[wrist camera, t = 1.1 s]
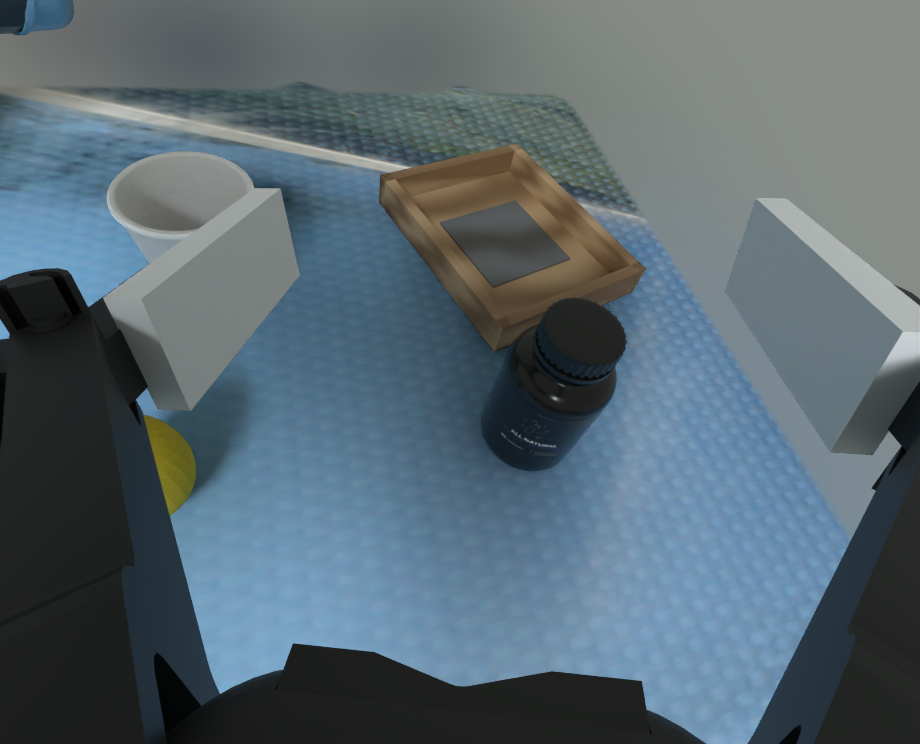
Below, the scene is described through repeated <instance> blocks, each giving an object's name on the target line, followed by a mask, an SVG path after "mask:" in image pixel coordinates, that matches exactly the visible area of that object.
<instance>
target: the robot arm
mask: <svg viewBox="0 0 920 744" xmlns="http://www.w3.org/2000/svg"><path fill="white" fill-rule="evenodd" d="M73 15H74V5H73V0H0V34H4V33H13V34H15V35H26V34H28V33H29V32H30V31H40V30H51V29H59V28H63V27H65V26H67V25H68V24H69V23H70V22H71V20H72V18H73ZM299 276H300V274H299V269H298V265H297V260H296V256H295V252H294V247H293V243H292V238H291V234H290V229H289V225H288V220H287V216H286V211H285V207H284V202H283V198H282V193H281V189H276V188H255V189H253V190H252V191H250V192H249V193H248V194H246V195H245V196H243V197H242V198H241V199H239V200H238V201H237V202H235V203H234V204H232V205H231V206H230V207H228V208H227V209H225V210H224V211H223V212H221V213H220V214H218V215H217V216H216V217H214V218H213V219H211V220H210V221H209V222H207V223H206V224H205V225H203V226H202V227H200V228H199V229H198V230H196V231H195V232H193V233H192V234H191V235H189V236H188V237H186V238H185V239H184V240H182V241H181V242H179V243H178V244H177V245H175V246H174V247H172V248H171V249H170V250H168V251H167V252H166V253H164V254H163V255H161V256H160V257H159V258H157V259H156V260H154V261H153V262H152V263H150V264H149V265H147V266H146V267H144V268H143V269H141V270H140V271H138V272H137V273H136V274H134V275H133V276H131V277H130V278H129V279H127V280H126V281H125V282H123V283H122V284H120V285H119V286H118V287H117V288H115V289H113V290H112V291H111V292H109V293H108V294H106V295H105V296H104V297H102V298H101V299H99V300H98V301H97V302H95V303H94V304H92V305H91V306H90V307H88V306H87V304H86V302H85V300H84V299H83V297H82V295H81V293H80V291H79V289H78V287H77V285H76V283H75V281H74V279H73V277H72V275H71V274H70V273H69V272H68V271H67V270H63V269H58V268H56V269H40V270H33V271H28V272H24V273H20V274H17V275H13V276H11V277H8V278H6V279H3V280H1V281H0V319H1V321H2V322H3V324H4V325H5V327H6V328H7V330H8V332H9V333H10V335H9V339H2V340H0V744H706V743H704V742H703V741H701V740H700V739H698V738H697V737H695V736H694V735H693V734H691V733H690V732H688V731H687V730H685V729H684V728H682V727H681V726H679V725H677V724H675V723H673V722H671V721H670V720H668V719H666V718H664V717H662V716H660V715H658V714H656V713H653V712H651V711H648V710H646V704H645V698H644V692H643V686H642V681H636V680H627V679H617V678H608V677H599V676H590V675H580V674H571V673H562V672H553V671H552V672H546V673H540V674H535V675H529V676H523V677H518V678H512V679H506V680H501V681H495V682H489V683H484V684H478V685H472V686H465V687H461V686H454V685H451V684H449V683H446V682H444V681H442V680H439V679H437V678H434V677H432V676H430V675H427V674H425V673H422V672H420V671H418V670H415V669H413V668H411V667H408V666H406V665H403V664H401V663H399V662H396V661H394V660H392V659H389V658H387V657H384V656H382V655H380V654H377V653H375V652H367V651H358V650H349V649H340V648H330V647H321V646H312V645H303V644H293V645H292V648H291V650H290V653H289V656H288V659H287V661H286V664H285V667H284V670H279V671H274V672H271V673H268V674H265V675H261V676H258V677H255V678H252V679H250V680H248V681H246V682H243V683H241V684H239V685H236V686H234V687H232V688H230V689H229V690H227V691H225V692H223V693H222V694H220V693H219V691H218V689H217V687H216V684H215V682H214V680H213V677H212V674H211V671H210V668H209V665H208V661H207V657H206V654H205V650H204V646H203V642H202V638H201V634H200V631H199V627H198V623H197V619H196V615H195V611H194V608H193V604H192V600H191V596H190V592H189V588H188V585H187V581H186V577H185V573H184V569H183V565H182V561H181V558H180V554H179V550H178V546H177V542H176V538H175V535H174V531H173V527H172V523H171V519H170V515H169V512H168V508H167V504H166V500H165V496H164V492H163V489H162V485H161V481H160V477H159V473H158V469H157V466H156V462H155V458H154V454H153V450H152V446H151V443H150V439H149V435H148V431H147V427H146V423H145V420H144V416H143V412H142V410H141V408H140V406H139V405H138V403H137V401H136V399H137V398H138V397H139V395H140V394H141V393H142V392H143V391H144V390H145V389H146V388H148V390H149V393H150V395H151V397H152V399H153V401H154V403H155V405H156V407H157V409H163V410H179V411H191V410H192V409H193V408H194V406H195V405H196V404H197V403H198V401H199V400H200V399H201V398H202V396H203V395H204V394H205V393H206V392H207V390H208V389H209V388H210V387H211V385H212V384H213V383H214V382H215V380H216V379H217V378H218V377H219V375H220V374H221V373H222V372H223V370H224V369H225V368H226V367H227V365H228V364H229V363H230V362H231V360H232V359H233V358H234V357H235V356H236V354H237V353H238V352H239V351H240V349H241V348H242V347H243V346H244V344H245V343H246V342H247V341H248V339H249V338H250V337H251V336H252V334H253V333H254V332H255V331H256V329H257V328H258V327H259V326H260V324H261V323H262V322H263V321H264V319H265V318H266V317H267V316H268V315H269V313H270V312H271V311H272V310H273V308H274V307H275V306H276V305H277V303H278V302H279V301H280V300H281V298H282V297H283V296H284V295H285V293H286V292H287V291H288V290H289V288H290V287H291V286H292V285H293V283H294V282H295V281H296V280H297V279H298V277H299ZM725 292H726V294H727V296H728V297H729V299H730V300H731V302H732V303H733V305H734V306H735V308H736V309H737V311H738V312H739V314H740V315H741V317H742V319H743V320H744V322H745V323H746V325H747V326H748V328H749V329H750V331H751V332H752V334H753V335H754V337H755V338H756V340H757V341H758V343H759V344H760V346H761V348H762V349H763V351H764V352H765V354H766V355H767V357H768V358H769V360H770V361H771V363H772V364H773V366H774V367H775V369H776V370H777V372H778V373H779V375H780V377H781V378H782V379H783V381H784V383H785V384H786V386H787V387H788V389H789V390H790V391H791V393H792V395H793V396H794V398H795V399H796V401H797V402H798V404H799V406H800V407H801V409H802V410H803V412H804V413H805V415H806V416H807V418H808V419H809V421H810V422H811V424H812V425H813V427H814V428H815V430H816V431H817V433H818V435H819V436H820V438H821V439H822V441H823V442H824V444H825V445H826V447H827V448H828V450H829V451H830V452H832V453H848V454H863V455H864V454H865V455H873V454H874V452H875V451H876V449H877V448H878V446H879V445H880V443H881V442H882V440H883V439H884V437H885V436H886V434H887V433H888V431H890V432H891V434H892V435H893V436H894V437H895V438H896V440H897V441H898V442H899V443H900V444H901V448H900V449H899V451H898V452H897V453H896V455H895V456H894V458H893V459H892V460H891V462H890V463H889V465H888V466H887V467H886V469H885V470H884V471H883V473H882V474H881V476H880V477H879V478H878V480H877V481H876V483H875V484H874V485H873V487H872V489H874V490H876V492H875V494H874V496H873V498H872V500H871V502H870V504H869V506H868V508H867V510H866V512H865V514H864V516H863V518H862V520H861V522H860V524H859V526H858V528H857V530H856V532H855V534H854V536H853V538H852V540H851V541H850V543H849V545H848V547H847V549H846V551H845V553H844V555H843V557H842V559H841V561H840V563H839V565H838V567H837V569H836V571H835V573H834V575H833V577H832V579H831V581H830V583H829V585H828V587H827V589H826V591H825V593H824V595H823V597H822V599H821V601H820V603H819V605H818V607H817V609H816V611H815V613H814V615H813V617H812V619H811V621H810V623H809V625H808V627H807V629H806V631H805V633H804V635H803V637H802V639H801V641H800V643H799V645H798V647H797V649H796V651H795V653H794V655H793V657H792V659H791V661H790V663H789V665H788V667H787V669H786V671H785V673H784V675H783V677H782V679H781V681H780V683H779V685H778V687H777V689H776V691H775V693H774V695H773V697H772V699H771V701H770V703H769V705H768V707H767V709H766V711H765V713H764V715H763V717H762V719H761V721H760V723H759V725H758V727H757V728H756V730H755V732H754V734H753V736H752V737H751V739H750V741H749V742H748V744H920V299H919V298H918V297H916V296H915V295H914V294H912V293H911V292H909V291H906V290H904V289H902V288H900V287H898V286H896V285H894V284H892V283H891V282H889V281H888V280H887V279H885V278H884V277H883V276H882V275H881V274H879V273H878V272H877V271H876V270H874V269H873V268H872V267H871V266H869V265H868V264H867V263H866V262H864V261H863V260H862V259H861V258H859V257H858V256H857V255H856V254H855V253H853V252H852V251H851V250H849V249H848V248H847V247H846V246H845V245H843V244H842V243H841V242H839V241H838V240H837V239H836V238H835V237H833V236H832V235H831V234H830V233H828V232H827V231H826V230H825V229H823V228H822V227H821V226H820V225H818V224H817V223H816V222H815V221H813V220H812V219H811V218H810V217H808V216H807V215H806V214H805V213H803V212H802V211H801V210H800V209H798V208H797V207H796V206H795V205H793V204H792V203H791V202H790V201H788V200H787V199H777V198H776V199H775V198H756V199H755V202H754V205H753V208H752V211H751V214H750V217H749V220H748V223H747V226H746V229H745V232H744V235H743V238H742V241H741V244H740V247H739V250H738V253H737V255H736V258H735V262H734V265H733V268H732V270H731V274H730V277H729V280H728V282H727V285H726V288H725Z"/></svg>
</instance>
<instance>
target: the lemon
mask: <svg viewBox="0 0 920 744" xmlns="http://www.w3.org/2000/svg"><path fill="white" fill-rule="evenodd" d="M143 416H144V420H145V423H146V427H147V431H148V435H149V439H150V443H151V446H152V450H153V454H154V458H155V462H156V466H157V469H158V473H159V477H160V481H161V485H162V489H163V492H164V496H165V500H166V504H167V508H168V512H169V515H171V514H173V513H174V512H176V511H177V510H178V509H179V508H180V507H181V506H182V505H183V504H184V503H185V501H186V500H187V499H188V497H189V495H190V493H191V492H192V490H193V486H194V483H195V479H196V462H195V459H194V456H193V452H192V450H191V447H190V446H189V444H188V443H187V442H186V440H185V439H184V438H183V436H182V435H181V434H180V433H179V432H178V431H176V430H175V429H174V428H172V427H171V426H169V425H168V424H166V423H165V422H163V421H161V420H159V419H156V418H153V417H150V416H147V415H143Z"/></svg>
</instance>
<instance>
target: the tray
mask: <svg viewBox="0 0 920 744" xmlns="http://www.w3.org/2000/svg"><path fill="white" fill-rule="evenodd" d="M379 203H380V204H381V205H382V206H383V208H384V209H385V210H386V212H387V213H388V214H389V216H390V217H391V218H392V219H393V221H394V222H395V223H396V225H397V226H398V227H399V229H400V230H401V231H402V232H403V234H404V235H405V236H406V238H407V239H408V240H409V242H410V243H411V244H412V246H413V247H414V248H415V249H416V251H417V252H418V253H419V255H420V256H421V257H422V259H423V260H424V261H425V262H426V264H427V265H428V266H429V268H430V269H431V270H432V272H433V273H434V274H435V275H436V277H437V278H438V279H439V281H440V282H441V283H442V285H443V286H444V287H445V289H446V290H447V291H448V292H449V294H450V295H451V296H452V298H453V299H454V300H455V302H456V303H457V304H458V305H459V307H460V308H461V309H462V311H463V312H464V313H465V315H466V316H467V317H468V318H469V320H470V321H471V322H472V324H473V325H474V326H475V328H476V329H477V330H478V331H479V333H480V334H481V335H482V337H483V338H484V339H485V341H486V342H487V343H488V345H489V346H490V347H491V348H492V350H493V351H494V352H496V351H498V350H500V349H503V348H505V347H507V346H510V345H512V343H513V341H514V340H515V338H516V337H517V336H518V335H519V334H520V333H521V332H523V331H524V330H526V329H527V328H529V327H531V326H533V325H536V324H538V323H539V322H540V321H541V319H542V317H543V315H544V313H545V312H546V311H547V309H548V308H549V307H550V306H552V304H553V303H555V302H558V301H559V300H564V299H565V298H573V297H574V298H583V299H585V300H590V301H592V302H596V303H598V304H599V305H604V304H606V303H608V302H611V301H613V300H615V299H618V298H620V297H622V296H624V295H627V294H629V293H631V292H632V291H633V289H634V288H635V286H636V285H637V283H638V281H639V280H640V278H641V277H642V275H643V274H644V272H645V270H646V268H644V267H643V266H642V265H641V264H640V263H639V262H638V261H637V260H636V259H635V258H634V257H633V256H632V255H631V254H630V253H629V252H628V251H627V250H626V249H625V248H624V247H623V246H622V245H621V244H620V243H619V242H618V241H617V240H616V239H615V238H614V237H613V236H611V235H610V234H609V233H608V232H607V231H606V230H605V229H604V228H603V227H602V226H601V225H600V224H599V223H598V222H597V221H596V220H595V219H594V218H593V217H592V216H591V215H590V214H589V213H588V212H587V211H586V210H585V209H584V208H583V207H582V206H581V205H580V204H578V203H577V202H576V201H575V200H574V199H573V198H572V197H571V196H570V195H569V194H568V193H567V192H566V191H565V190H564V189H563V188H562V187H561V186H560V185H559V184H558V183H557V182H556V181H555V180H554V179H553V178H552V177H551V176H550V175H549V174H548V173H546V172H545V171H544V170H543V169H542V168H541V167H540V166H539V165H538V164H537V163H536V162H535V161H534V160H533V159H532V158H531V157H530V156H529V155H528V154H527V153H526V152H525V151H524V150H523V149H522V148H521V147H520V146H519V145H518V144H513V145H509V146H505V147H500V148H496V149H491V150H487V151H483V152H478V153H474V154H470V155H465V156H461V157H457V158H452V159H448V160H443V161H439V162H435V163H430V164H426V165H422V166H417V167H413V168H409V169H404V170H400V171H395V172H391V173H387V174H382V175H380V194H379Z"/></svg>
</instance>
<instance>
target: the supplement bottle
mask: <svg viewBox="0 0 920 744" xmlns="http://www.w3.org/2000/svg"><path fill="white" fill-rule="evenodd" d="M625 338H626V334H625V333H624V328H623V327H622V326H621V323H620V322H619V321H618V320H617V318H616V316H614V315H613V314H612V313H611V312H610V311H609V310H607V309H606V308H605V307H604V306H601V305H599V304H598V303H596V302H592V301H590V300H585V299H583V298H574V297H573V298H565V299H564V300H559V301H558V302H555V303H553V304H552V306H550V307H549V308H548V309H547V311H546V312H545V313H544V315H543V317H542V319H541V321H540V322H539V323H538V324H536V325H533V326H531V327H529V328H527V329H526V330H524V331H523V332H521V333H520V334H519V335H518V336H517V337H516V338H515V340H514V341H513V343H512V345H511V347H510V348H509V351H508V353H507V355H506V358H505V360H504V362H503V365H502V367H501V369H500V372H499V374H498V376H497V379H496V381H495V383H494V386H493V388H492V390H491V393H490V395H489V397H488V400H487V402H486V405H485V407H484V410H483V413H482V419H481V427H482V432H483V436H484V439H485V441H486V443H487V445H488V446H489V448H490V449H491V451H492V452H493V453H494V454H495V455H496V456H497V457H498V458H499V459H500V460H502V461H503V462H505V463H506V464H508V465H510V466H512V467H514V468H517V469H521V470H526V471H540V470H545V469H548V468H550V467H552V466H554V465H556V464H557V463H559V462H560V461H561V460H562V459H563V458H564V457H565V456H566V455H567V453H568V452H569V451H570V450H571V449H572V448H573V446H574V445H575V444H576V443H577V442H578V440H579V439H580V438H581V437H582V435H583V434H584V433H585V432H586V431H587V429H588V428H589V427H590V426H591V424H592V423H593V422H594V421H595V420H596V418H597V417H598V416H599V415H600V413H601V412H602V411H603V410H604V409H605V407H606V406H607V405H608V403H609V402H610V400H611V398H612V397H613V394H614V392H615V388H616V381H617V377H616V369H615V366H616V364H617V362H618V361H619V360H620V358H621V357H622V355H623V352H624V351H625V349H626V347H625V345H626V343H627V342H626V339H625Z"/></svg>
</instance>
